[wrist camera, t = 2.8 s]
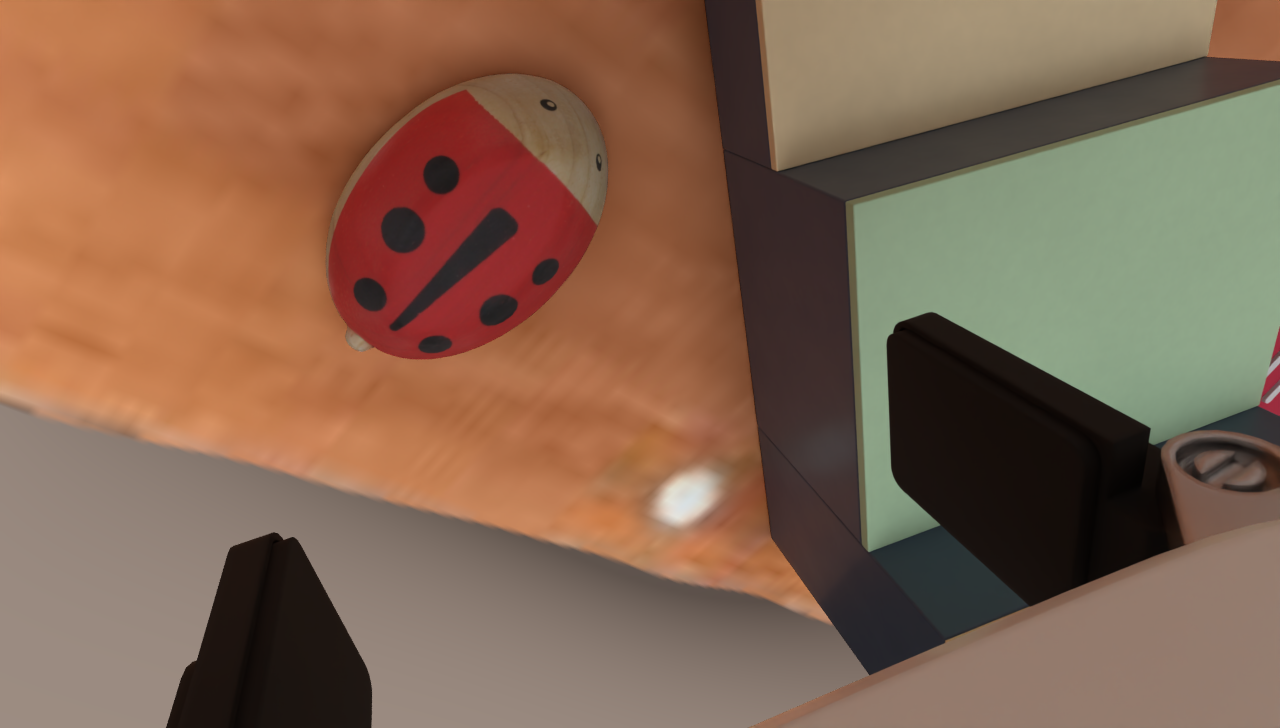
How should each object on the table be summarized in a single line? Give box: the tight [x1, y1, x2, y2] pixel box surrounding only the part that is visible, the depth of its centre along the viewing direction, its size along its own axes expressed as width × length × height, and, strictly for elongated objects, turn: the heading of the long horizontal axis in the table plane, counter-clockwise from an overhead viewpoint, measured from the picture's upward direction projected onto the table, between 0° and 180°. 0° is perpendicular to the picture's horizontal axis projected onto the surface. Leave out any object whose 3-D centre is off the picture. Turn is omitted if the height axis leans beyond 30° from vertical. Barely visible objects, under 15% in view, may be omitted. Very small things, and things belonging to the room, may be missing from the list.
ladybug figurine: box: [326, 74, 608, 359], centre depth 21 cm, size 7×10×4 cm
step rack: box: [705, 0, 1280, 675], centre depth 23 cm, size 23×15×12 cm, turn 11°
